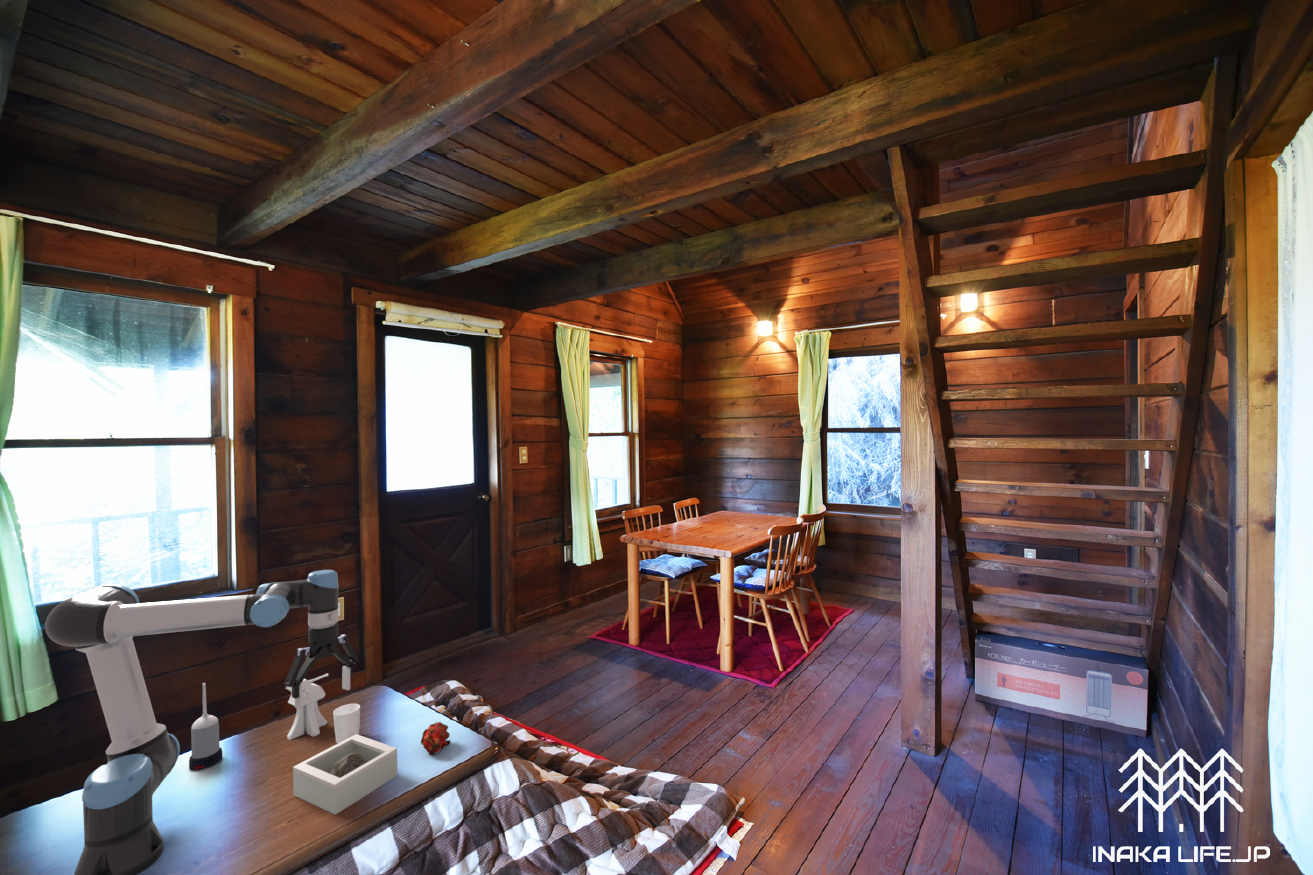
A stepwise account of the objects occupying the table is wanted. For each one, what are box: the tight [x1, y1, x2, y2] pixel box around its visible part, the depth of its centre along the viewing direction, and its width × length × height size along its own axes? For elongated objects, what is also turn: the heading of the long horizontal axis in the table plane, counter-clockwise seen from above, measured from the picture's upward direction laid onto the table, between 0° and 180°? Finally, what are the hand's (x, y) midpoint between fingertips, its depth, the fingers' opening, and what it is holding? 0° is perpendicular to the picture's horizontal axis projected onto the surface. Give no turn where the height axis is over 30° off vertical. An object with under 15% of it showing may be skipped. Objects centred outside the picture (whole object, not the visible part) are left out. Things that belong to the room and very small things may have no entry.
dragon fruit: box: [420, 721, 452, 756], centre depth 177 cm, size 8×8×12 cm
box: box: [292, 734, 399, 815], centre depth 160 cm, size 19×19×8 cm
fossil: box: [330, 753, 367, 778], centre depth 159 cm, size 11×9×10 cm
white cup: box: [332, 703, 361, 744], centre depth 185 cm, size 8×8×10 cm
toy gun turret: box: [284, 673, 329, 741], centre depth 192 cm, size 12×13×18 cm
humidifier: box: [188, 682, 223, 772], centre depth 173 cm, size 8×8×25 cm
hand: (323, 698), depth 160 cm, fingers open, 13 cm apart
